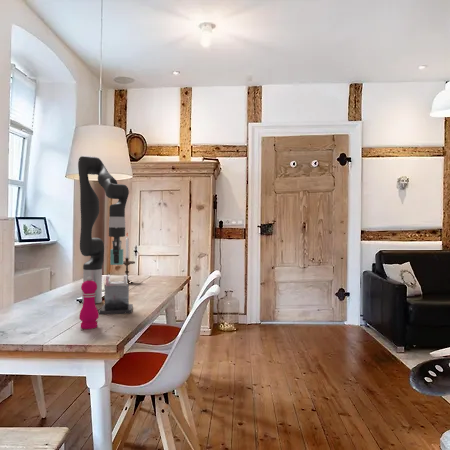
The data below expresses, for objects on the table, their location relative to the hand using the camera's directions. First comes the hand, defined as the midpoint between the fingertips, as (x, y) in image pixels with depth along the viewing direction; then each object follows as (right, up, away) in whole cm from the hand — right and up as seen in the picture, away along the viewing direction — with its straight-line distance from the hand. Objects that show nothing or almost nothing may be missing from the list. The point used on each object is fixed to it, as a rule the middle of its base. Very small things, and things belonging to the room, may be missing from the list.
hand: (116, 262), depth 195 cm
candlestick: (-16, -22, +90) cm, 94 cm away
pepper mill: (-3, -23, -31) cm, 39 cm away
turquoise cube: (0, -1, 0) cm, 1 cm away
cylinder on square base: (0, -22, 0) cm, 22 cm away
